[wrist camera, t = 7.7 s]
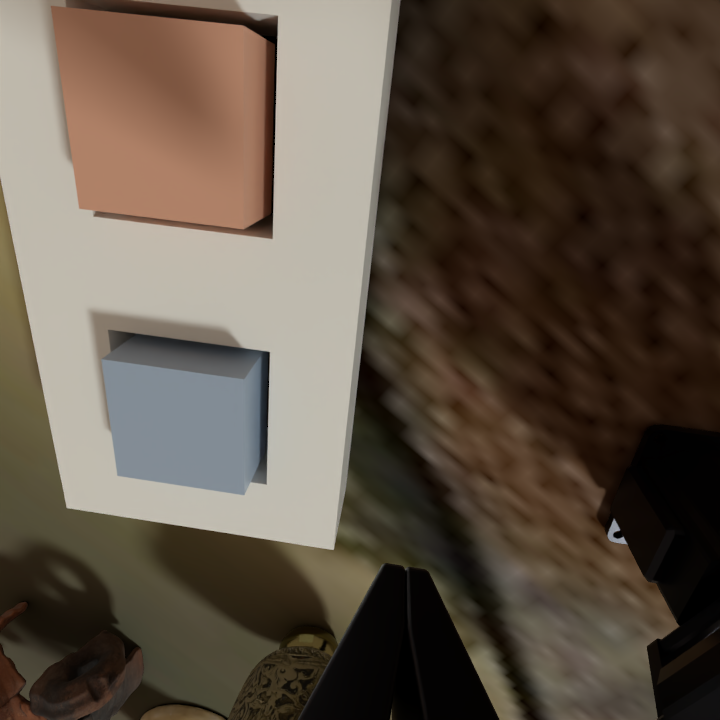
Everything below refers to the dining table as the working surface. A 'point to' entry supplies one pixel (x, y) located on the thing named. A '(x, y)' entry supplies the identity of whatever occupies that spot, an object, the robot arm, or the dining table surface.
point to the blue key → (187, 412)
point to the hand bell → (179, 713)
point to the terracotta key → (168, 116)
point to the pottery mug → (72, 681)
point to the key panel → (210, 262)
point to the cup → (285, 677)
